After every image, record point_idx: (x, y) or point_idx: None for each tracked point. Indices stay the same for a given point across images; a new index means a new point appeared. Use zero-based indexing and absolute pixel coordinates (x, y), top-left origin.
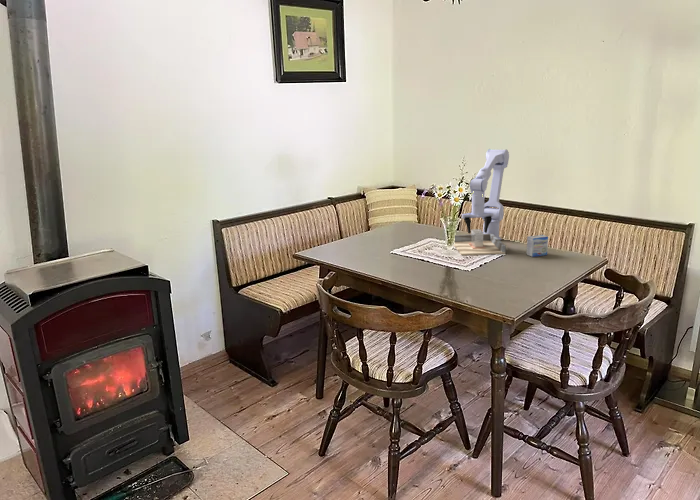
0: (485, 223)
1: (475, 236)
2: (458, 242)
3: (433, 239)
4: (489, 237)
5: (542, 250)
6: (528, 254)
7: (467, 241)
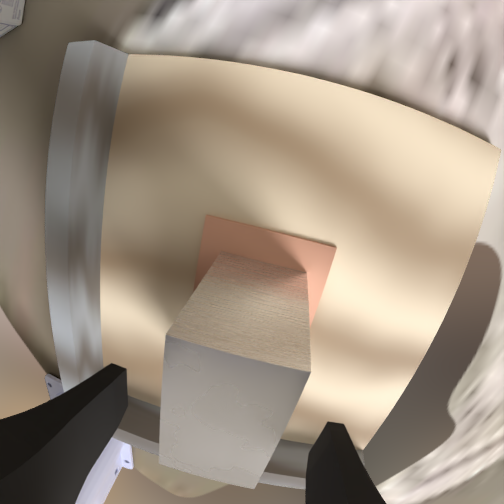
0: (64, 468)
1: (300, 335)
2: None
3: (391, 498)
4: None
5: None
6: (21, 4)
7: None
